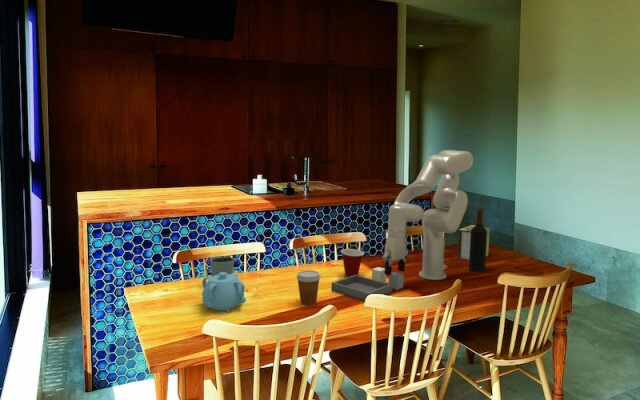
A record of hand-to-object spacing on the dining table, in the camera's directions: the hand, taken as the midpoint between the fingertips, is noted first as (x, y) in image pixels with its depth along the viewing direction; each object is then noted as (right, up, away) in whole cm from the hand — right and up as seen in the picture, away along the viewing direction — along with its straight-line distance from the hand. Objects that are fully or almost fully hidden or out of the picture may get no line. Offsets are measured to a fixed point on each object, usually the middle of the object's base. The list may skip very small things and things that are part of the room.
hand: (394, 272), depth 229 cm
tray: (-15, -8, -4) cm, 17 cm away
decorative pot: (-70, -10, -22) cm, 74 cm away
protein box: (+49, +1, +52) cm, 71 cm away
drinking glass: (-75, -6, +3) cm, 75 cm away
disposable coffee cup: (-37, -10, -17) cm, 42 cm away
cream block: (-6, -5, +9) cm, 12 cm away
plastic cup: (-17, -4, +17) cm, 25 cm away
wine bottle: (+44, -3, +28) cm, 52 cm away
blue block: (+1, -7, +2) cm, 7 cm away
